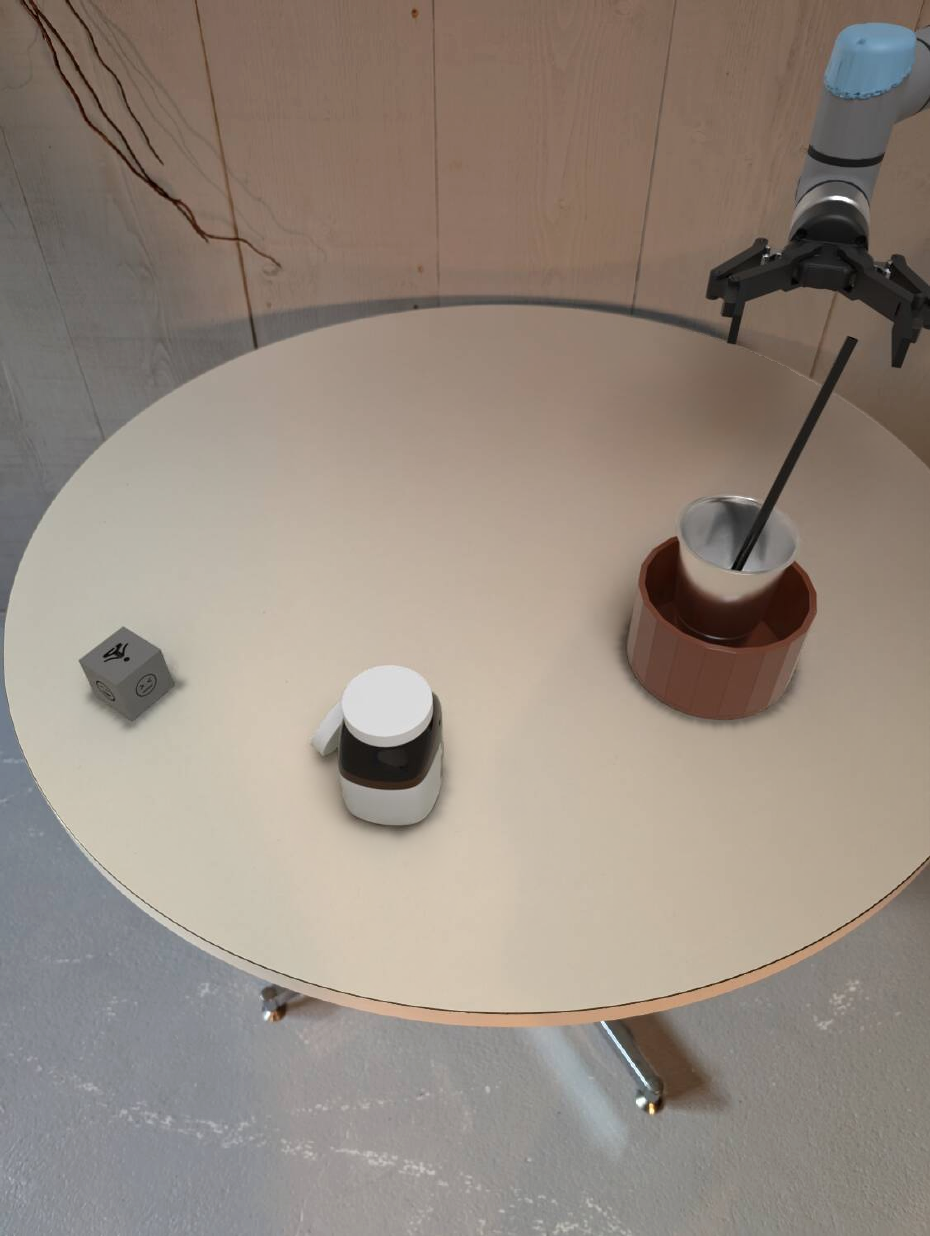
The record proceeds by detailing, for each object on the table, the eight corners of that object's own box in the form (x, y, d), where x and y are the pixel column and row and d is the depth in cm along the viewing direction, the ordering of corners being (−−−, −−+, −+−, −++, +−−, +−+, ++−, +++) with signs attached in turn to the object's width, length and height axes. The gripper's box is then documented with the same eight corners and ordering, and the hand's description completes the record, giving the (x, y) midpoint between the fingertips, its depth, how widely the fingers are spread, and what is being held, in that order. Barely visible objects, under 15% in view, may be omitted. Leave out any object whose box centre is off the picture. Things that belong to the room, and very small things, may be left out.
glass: (764, 615, 88) (858, 333, 67) (770, 705, 81) (878, 420, 59) (652, 602, 90) (708, 321, 68) (648, 689, 82) (709, 404, 61)
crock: (824, 689, 83) (854, 622, 76) (679, 740, 79) (698, 674, 73) (731, 582, 93) (751, 514, 86) (598, 623, 89) (608, 555, 82)
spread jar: (430, 845, 72) (424, 761, 64) (293, 825, 74) (269, 741, 65) (456, 725, 80) (453, 636, 72) (332, 709, 82) (315, 620, 73)
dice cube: (138, 662, 86) (123, 626, 82) (174, 685, 84) (160, 649, 80) (95, 696, 83) (78, 660, 79) (132, 721, 81) (116, 685, 77)
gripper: (947, 290, 90) (957, 403, 77) (695, 258, 96) (662, 358, 82) (977, 213, 85) (994, 320, 71) (708, 185, 91) (675, 278, 77)
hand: (816, 341), depth 77 cm, fingers open, 13 cm apart
